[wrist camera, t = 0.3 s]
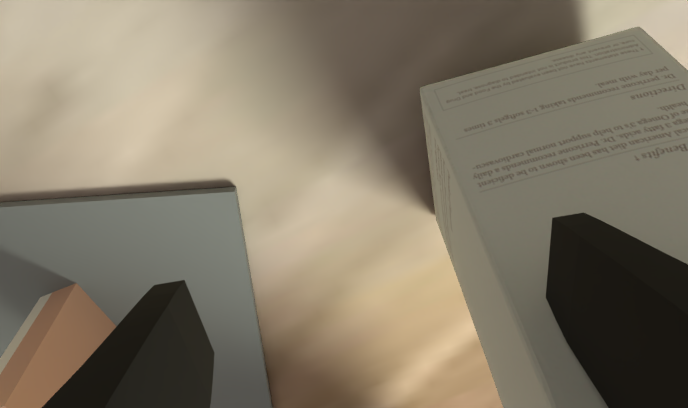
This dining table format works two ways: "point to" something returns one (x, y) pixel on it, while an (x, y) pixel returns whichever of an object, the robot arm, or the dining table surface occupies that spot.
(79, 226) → the felt mat
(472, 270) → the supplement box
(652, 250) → the robot arm
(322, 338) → the dining table surface
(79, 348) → the terracotta tile
